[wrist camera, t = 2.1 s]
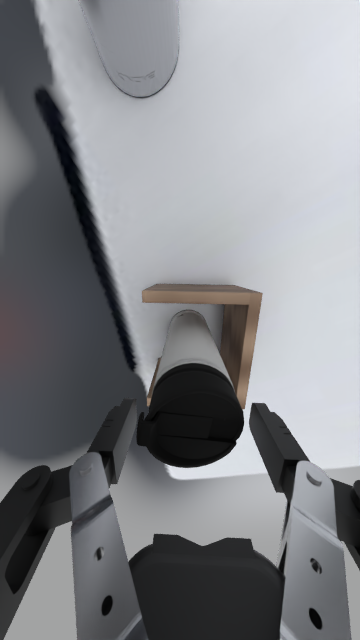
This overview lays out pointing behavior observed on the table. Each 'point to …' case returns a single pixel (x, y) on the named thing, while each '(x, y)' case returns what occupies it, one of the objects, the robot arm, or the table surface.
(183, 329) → the travel mug
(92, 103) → the table surface
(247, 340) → the wooden u-shaped bracket
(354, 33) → the table surface
